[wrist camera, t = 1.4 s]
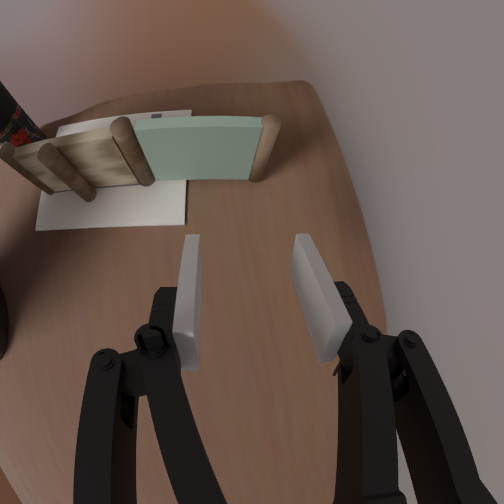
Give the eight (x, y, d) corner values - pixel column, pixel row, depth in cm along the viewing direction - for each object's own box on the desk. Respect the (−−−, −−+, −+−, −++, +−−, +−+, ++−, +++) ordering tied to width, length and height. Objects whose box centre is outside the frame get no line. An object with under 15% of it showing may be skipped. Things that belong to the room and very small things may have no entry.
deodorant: (47, 127, 32) (5, 73, 17) (44, 156, 31) (-7, 103, 16) (21, 141, 31) (-24, 94, 16) (18, 170, 30) (-35, 125, 15)
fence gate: (156, 183, 32) (132, 132, 20) (157, 170, 32) (136, 116, 21) (262, 182, 33) (282, 130, 22) (261, 169, 33) (280, 114, 22)
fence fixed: (43, 206, 30) (-8, 172, 18) (48, 182, 30) (2, 143, 18) (153, 198, 32) (125, 148, 20) (155, 171, 32) (132, 115, 21)
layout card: (36, 231, 29) (34, 230, 29) (59, 127, 32) (58, 126, 32) (184, 225, 32) (184, 224, 32) (191, 111, 35) (191, 109, 34)
